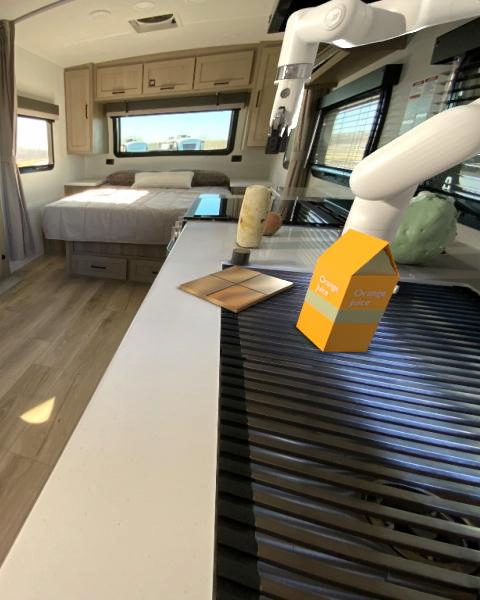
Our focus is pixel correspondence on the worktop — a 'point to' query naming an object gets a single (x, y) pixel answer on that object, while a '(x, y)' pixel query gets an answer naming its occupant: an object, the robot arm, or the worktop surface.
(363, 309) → the orange juice
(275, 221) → the onion
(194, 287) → the grid board
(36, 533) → the worktop surface
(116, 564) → the worktop surface
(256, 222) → the food model
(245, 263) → the black ridged cylinder
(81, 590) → the worktop surface
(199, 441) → the worktop surface
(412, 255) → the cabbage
